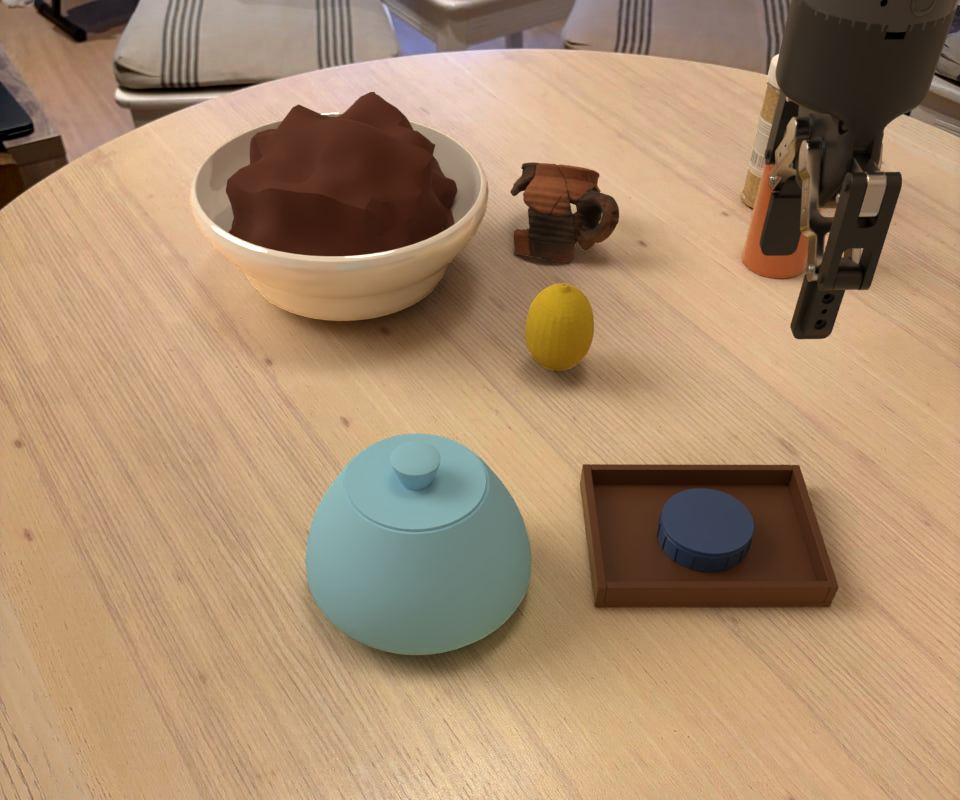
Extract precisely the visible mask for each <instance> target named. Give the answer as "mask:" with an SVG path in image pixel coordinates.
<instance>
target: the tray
mask: <svg viewBox="0 0 960 800" xmlns="http://www.w3.org/2000/svg"><path fill="white" fill-rule="evenodd" d="M579 482H580V483H579V487H580V495H581V503H582V505H581V506H582V512H583V519H584V521H583V522H584V527H585V528H584V529H585V535H586V536H585V537H586V545H587V552H588V560H589V570H590V578H591V585H592V587H591V588H592V593H593V604H594V607H595V608H703V607H704V608H709V607H710V608H720V607H721V608H728V607H729V608H730V607H733V608H734V607H735V608H739V607H741V608H742V607H743V608H744V607H746V608H747V607H749V608H750V607H751V608H752V607H754V608H755V607H768V608H769V607H771V608H772V607H773V608H774V607H776V608H777V607H782V608H784V607H787V608H789V607H792V608H793V607H800V608H801V607H802V608H803V607H813V608H814V607H831V606H832V604H833V602H834V599H835V597H836V595H837V592H838V590H839V587H840V586H839V583H838V581H837V578H836V574H835V571H834V568H833V565H832V562H831V560H830V559H831V558H830V556H829V553H828V550H827V546H826V543H825V541H824V537H823V535H822V531H821V528H820V524H819V522H818V519H817V515H816V513H815V509H814V506H813V503H812V500H811V497H810V493H809V491H808V488H807V485H806V482H805V478H804V475H803V472H802V469H801V466H800V465H799V464H650V463H649V464H647V463H646V464H639V463H638V464H636V463H635V464H634V463H633V464H629V463H628V464H623V463H621V464H619V463H617V464H614V463H610V464H605V463H604V464H601V463H600V464H598V463H596V464H595V463H594V464H593V463H592V464H588V463H587V464H586V463H583V464H582V465H581V474H580V480H579ZM695 488H706V489H713V490H718V491H721V492H724V493H726V494H729V495H731V496H733V497H734V498H736V499H737V500H739V501H740V502H741V503H743V504H744V505H745V506H746V508H747V509H748V510H749V512H750V513H751V515H752V518H753V521H754V532H753V535H752V538H751V539H752V542H751V545H750V548H749V551H748V552H747V553H746V555H745V557H744V558H743V559H742V560H741V563H738V564H737V565H735V566H733V567H732V568H729V569H727V570H723V571H718V572H702V571H696V570H692V569H689V568H686V567H684V566H682V565H680V564H678V563H676V562H675V561H673V560H672V559H671V558H669V557H668V556H667V555H666V554H665V552H664V551H663V550H662V549H661V546H660V544H659V541H658V537H656V535H657V531H658V526H659V524H658V523H659V518H660V514H661V511H662V509H663V507H664V505H665V503H666V502H667V501H668V500H669V499H670V498H671V497H672V496H673V495H675V494H677V493H679V492H681V491H684V490H688V489H695Z"/></svg>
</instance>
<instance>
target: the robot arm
mask: <svg viewBox="0 0 960 800" xmlns="http://www.w3.org/2000/svg"><path fill="white" fill-rule="evenodd" d="M959 2H960V0H790V3H789V9H788V12H787V17H786V21H785V26H784V30H783V35H782V40H781V44H780V45H781V46H780V49H779V53H778V54H779V57H778V62H777V66H776V73H775V74H776V81H777V84H778V86H779V88H780V90H781V91H780V95H779V99H778V103H777V107H776V111H775V115H774V119H773V123H772V127H771V131H770V135H769V139H768V143H767V148H766V150H765V154H764V157H765V163H766V165H774V167H773V169H772V171H771V173H770V176H769V179H768V184H769V189H770V191H774V192H771V196H770V201H769V205H768V209H767V213H766V217H765V221H764V226H763V230H762V234H761V238H760V242H759V246H760V248H761V251H762V253H763V254H764V255H766V256H788V255H791V254H793V253H794V252H795V251H796V250H797V247H798V244H799V240H800V236H801V233H802V234H803V235H805V236H806V237H807V238H808V256H807V264H806V267H805V273H804V276H803V278H802V279H803V280H802V283H801V287H800V290H799V293H798V297H797V301H796V305H795V307H794V311H793V315H792V318H791V320H790V321H791V322H790V325H789V326H790V327H789V328H790V330H791V333H792V336H793V338H795V339H796V340H823V339H826V338H829V336H831V334H832V333H833V330H834V328H835V327H834V326H835V324H836V321H837V317H838V315H839V311H840V308H841V305H842V302H843V299H844V296H845V293H846V291H868V290H870V288H871V286H872V283H873V280H874V277H875V273H876V271H877V267H878V264H879V261H880V257H881V254H882V253H883V252H882V251H883V248H884V245H885V242H886V239H887V235H888V233H889V229H890V226H891V223H892V221H893V220H892V219H893V216H894V213H895V210H896V208H897V207H896V206H897V204H898V200H899V197H900V194H901V190H902V187H903V176H902V173H901V172H900V171H883V170H881V169H882V165H883V164H882V163H883V162H882V161H883V149H884V145H883V141H884V136H885V133H884V132H885V129H886V127H887V126H888V125H889V124H890V123H892V122H893V121H894V120H896V119H898V118H899V117H901V116H903V115H905V114H908V113H910V112H911V111H913V110H915V109H916V108H918V107H919V106H920V105H921V104H922V103H923V102H924V101H925V99H926V98H927V96H928V94H929V92H930V89H931V86H932V82H933V79H934V76H935V73H936V71H937V68H938V65H939V63H940V59H941V56H942V53H943V50H944V47H945V44H946V41H947V38H948V36H949V32H950V30H951V26H952V23H953V21H954V18H955V14H956V11H957V9H958V5H959ZM786 130H787V134H786V135H785V137H784V134H785V131H786ZM818 208H819V209H823V210H828V209H834V210H835V212H834V215H833V216H824V215H822V214H820V213H819V210H818ZM826 236H827V237H828V238H827V241H826ZM825 242H826V243H825ZM825 244H826V245H825ZM842 256H843V257H842Z"/></svg>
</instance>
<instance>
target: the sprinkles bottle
mask: <svg viewBox="0 0 960 800" xmlns="http://www.w3.org/2000/svg"><path fill="white" fill-rule="evenodd" d="M778 57H779V53H777V54H775V55H773V57H772V58H771V59H770V64H769V67H768V72H767V77H766V80H767V82H766V89H765V94H764V97H763V103H762V107H761V111H760V113H759V116H758V121H757V125H756V130H755V134H754V138H753V142H752V147H751V150H750V151H751V152H750V156H749V160H748V164H747V165H748V169H747V173H746V177H745V180H744V181H745V182H744V186H743V189H742V191H741V194H740V199H741V201H742V202H743V204H745V206H747V207H749V208H751V209H754V205H755V201H756V197H757V193H758V188H759V184H760V180H761V176H762V172H763V168H764V164H765V157H764V154H765V150H766V148H767V143H768V139H769V135H770V131H771V127H772V123H773V119H774V115H775V111H776V107H777V103H778V99H779V95H780V91H781V90H780V88H779V86H778V84H777V81H776V74H775V73H776V66H777V62H778ZM786 134H787V130H786V131H785V134H784V137H785V135H786Z"/></svg>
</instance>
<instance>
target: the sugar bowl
mask: <svg viewBox="0 0 960 800" xmlns="http://www.w3.org/2000/svg"><path fill="white" fill-rule="evenodd" d="M305 569H306V570H305V571H306V581H307V584H308V588H309V591H310V595H311V597H312V598H313V600H314V603H315V604H316V606H317V607H318V608H319V610H320V611H321V613H322V614H323V616H325V618H326V619H327V620H328V621H329V622H330V623H331V624H332V625H333V626H334V627H335V628H336V629H338V630H339V631H340V632H341V633H342V634H344V635H345V636H347V637H348V638H351V639H352V640H354V641H356V642H358V643H360V644H362V645H365V646H367V647H369V648H373V649H376V650H379V651H382V652H385V653H391V654H397V655H404V656H405V655H407V656H429V655H437V654H444V653H447V652H451V651H456V650H459V649H461V648H464V647H467V646H469V645H472V644H475V643H476V642H479V641H480V640H482V639H484V638H486V637H488V636H489V635H491V634H492V633H494V632H495V631H497V630H499V628H500V627H501V626H503V625H504V624H505V623H506V622H507V621H508V620H509V619H510V618H511V617H512V615H513V614H514V613H516V611H517V609H518V608H519V606H520V604H521V603H522V601H523V600H524V598H525V595H526V594H527V591H528V588H529V585H530V582H531V581H530V580H531V576H532V575H531V573H532V553H531V544H530V538H529V534H528V530H527V527H526V524H525V520H524V517H523V515H522V512H521V511H520V509H519V507H518V505H517V502H516V500H515V499H514V497H513V496H512V494H511V492H510V491H509V490H508V488H507V487H506V485H505V483H503V481H502V480H501V479H500V478H499V477H498V475H497V474H496V473H495V472H494V471H493V469H492V468H491V467H490V466H489V465H488V464H487V463H486V462H485V460H483V459H482V458H481V457H480V456H479V455H477V454H476V453H475V452H474V451H473V450H471V449H470V448H469V447H467V446H465V444H463V443H460V442H458V441H456V440H454V439H451V438H449V437H445V436H441V435H437V434H430V433H404V434H398V435H394V436H390V437H387V438H383V439H381V440H378V441H375V442H373V443H372V444H370V445H368V446H367V447H365V448H363V449H362V450H361V451H360V452H358V453H357V454H356V455H355V456H354V457H352V459H351V460H349V461H348V463H347V464H345V466H344V467H343V468H342V470H341V471H340V472H339V473H338V474H337V475H336V477H335V478H334V480H333V481H332V483H331V484H330V485H329V487H328V488H327V490H326V492H325V493H324V495H323V496H322V498H321V500H320V501H319V504H318V506H317V508H316V510H315V512H314V515H313V517H312V520H311V523H310V527H309V531H308V535H307V540H306V550H305Z"/></svg>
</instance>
